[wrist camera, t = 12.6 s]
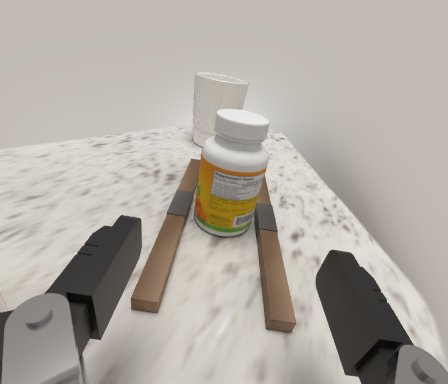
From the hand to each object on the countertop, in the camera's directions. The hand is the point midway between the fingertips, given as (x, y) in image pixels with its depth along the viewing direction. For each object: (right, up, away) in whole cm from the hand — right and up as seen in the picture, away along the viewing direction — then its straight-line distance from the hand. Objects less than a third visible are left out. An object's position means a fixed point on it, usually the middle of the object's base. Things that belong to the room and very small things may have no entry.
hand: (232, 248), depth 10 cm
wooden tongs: (-1, 0, +12) cm, 12 cm away
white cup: (-2, +11, +30) cm, 32 cm away
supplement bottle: (-1, 0, +12) cm, 12 cm away
